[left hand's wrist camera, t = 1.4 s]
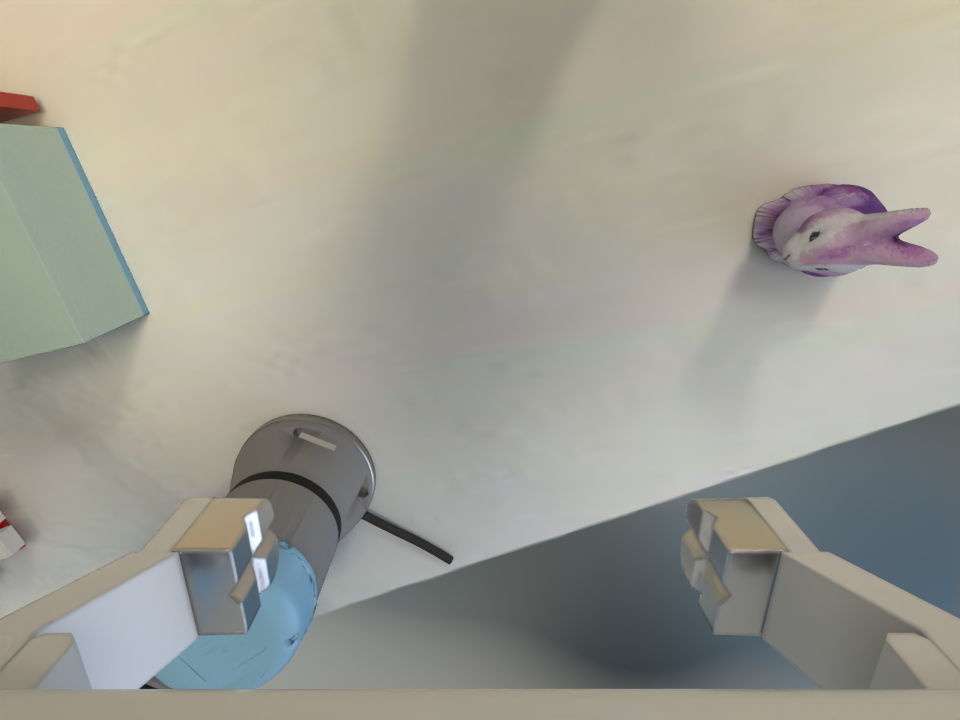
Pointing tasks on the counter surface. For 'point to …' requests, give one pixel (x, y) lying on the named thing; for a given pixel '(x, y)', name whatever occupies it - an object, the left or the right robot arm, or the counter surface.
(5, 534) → the toy
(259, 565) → the left robot arm
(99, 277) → the cabinet
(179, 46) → the counter surface
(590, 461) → the counter surface
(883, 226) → the figurine
